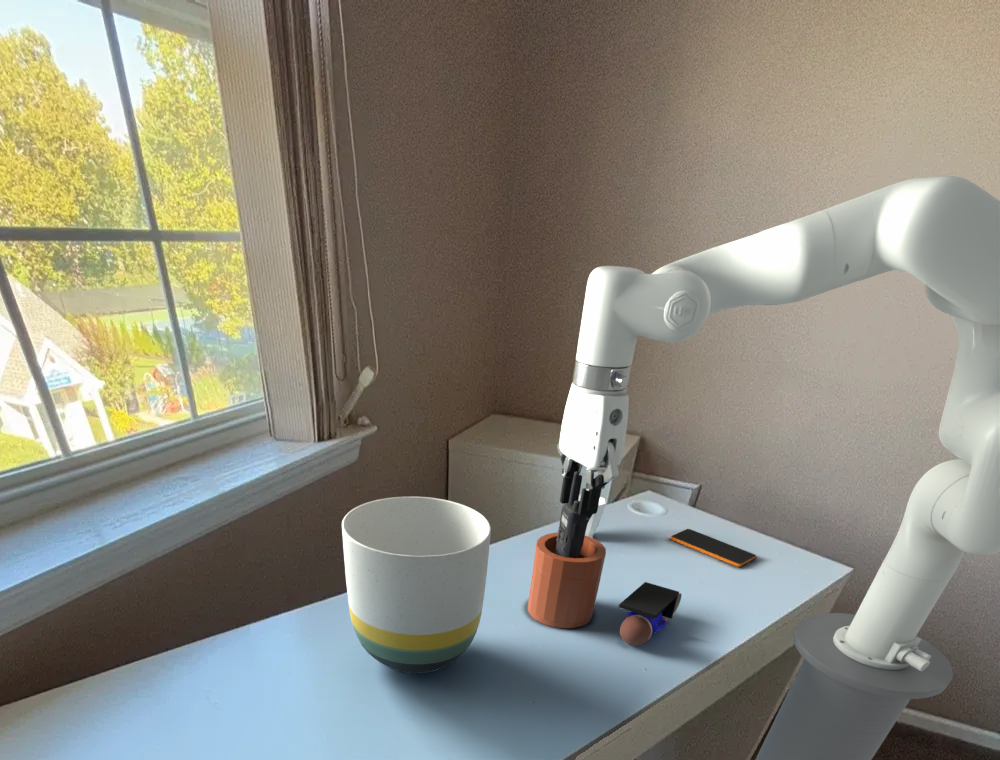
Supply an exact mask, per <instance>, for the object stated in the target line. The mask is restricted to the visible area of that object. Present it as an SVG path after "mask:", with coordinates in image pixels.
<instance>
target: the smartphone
mask: <svg viewBox="0 0 1000 760" xmlns="http://www.w3.org/2000/svg"><path fill="white" fill-rule="evenodd" d="M669 538H670V540H671V541H673V542H675V543H678V544H680V545H683V546H685V547H688V548H690V549H693V550H695V551H697V552H700V553H703V554H705V555H707V556H709V557H712V558H713V559H714V558H715V559H716V560H720V561H722V562H725V563H726V564H729V565H732V566H734V567H737V568H741V567H744V565H746V564H748V563H750V562H752V561H754V560H756V559H757V557H758V556H757V555H756V554H754V553H753V552H750V551H748V550H745V549H742V548H739V547H737V546H735V545H732V544H729V543H727V542H724V541H722V540H720V539H717V538H714V537H711V536H709V535H706V534H705V533H704V534H703V533H702V532H699V531H696V530H695V529H694V530H693V529H692V528H686V529H683V530H681V531H679V532H677V533H675V534H672V535H670V536H669Z"/></svg>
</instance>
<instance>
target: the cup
mask: <svg viewBox="0 0 1000 760" xmlns="http://www.w3.org/2000/svg"><path fill="white" fill-rule="evenodd" d="M580 498H581V493H580V494H579V499H578V501H580ZM606 504H607V501H606V498H604V497H602V496H600V500H599V505H598V510H597V513H596V514H592V516H591V518H590V520H589V522H588V524H587V528H586V532H585V536H588V537H591V538H593V539H594V535H595V533H596V531H597V529H598V527H599V524H600V521H601V518H602V516H603V513H604V510H605V507H606Z"/></svg>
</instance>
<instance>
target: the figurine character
mask: <svg viewBox="0 0 1000 760" xmlns="http://www.w3.org/2000/svg"><path fill="white" fill-rule="evenodd" d="M681 601H682V593H681V592H680V591H678V590H674V589H671V588H669V587H668V588H667V587H664V586H661V585H657V584H654V583H652V582H651V583H650V582H647V581H645V582H643V583H642V584H641V585H640V586H639V587H637V588H636V589H635V590H634V591H632V593H630V594H629V595H628V596H627V597H626V598H625V599H623V600H622V601H621V602H620V603H619V604H618V608H619V609H622V610H625V611H628V612H627V613H626V615H627V617H626V618H625V619H624V620H623V621H622V622H621V624H620V628H619V635H620V637H621V639H622V641H623V642H624V643H626V644H627V645H630V646H633V647H635V646H637V647H638V646H642V645H644V644H646V643H647V642H648V641H649V640H650V639H651V637H652V635H653V633H658V631H659V630H663V629H665V628H666V625H667V622H668V621H669V619H670V620H672V619H673V617H674V614H675V613H676V612H677V610H678V608H679V606H680V603H681Z"/></svg>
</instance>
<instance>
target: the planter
mask: <svg viewBox="0 0 1000 760" xmlns="http://www.w3.org/2000/svg"><path fill="white" fill-rule="evenodd" d="M491 532H492V528H491V524H490V522H489V521H488V519H487V518H486V517H485V516H484V515H483V514H482V513H480V512H479V511H477V510H476V509H474V508H471V507H469V506H467V505H465V504H462V503H459V502H455V501H452V500H447V499H443V498H436V497H428V496H394V497H385V498H381V499H380V498H379V499H376V500H371V501H368V502H365V503H362V504H360V505H357V506H356V507H354V508H352V509H351V510H350V511H348V512H347V514H345V516H344V517H343V519H342V521H341V535H342V549H343V561H344V574H345V583H346V592H347V601H348V611H349V615H350V620H351V623H352V627H353V630H354V632H355V635H356V637H357V639H358V641H359V643H360V645H361V646H362V647H363V649H364V650H365V651H366V652H367V653H368V655H370V656H371V657H372V658H373V659H374V660H376V661H377V662H378V663H380V664H382V665H383V666H386V667H387V668H389V669H392V670H396V671H398V672H402V673H406V674H407V673H408V674H425V673H431V672H435V671H438V670H441V669H443V668H445V667H447V666H450V665H451V664H452V663H454V662H456V661H457V660H458V659H459V658H460V657H462V656H463V655H464V654H465V652H467V650H468V649H469V647H470V646H471V644H472V642H473V641H474V638H475V636H476V634H477V631H478V629H479V625H480V622H481V618H482V613H483V606H484V599H485V591H486V584H487V576H488V568H489V567H488V565H489V556H490V547H491V535H492V533H491Z"/></svg>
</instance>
